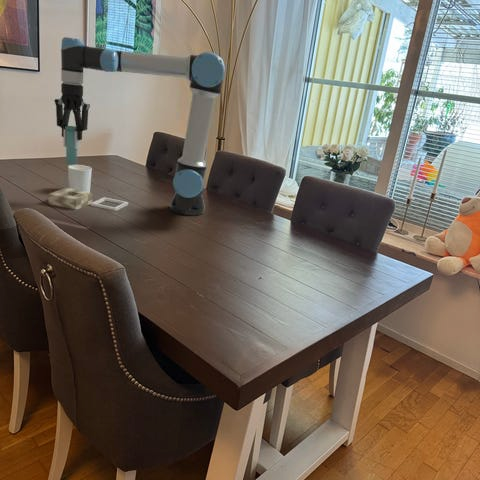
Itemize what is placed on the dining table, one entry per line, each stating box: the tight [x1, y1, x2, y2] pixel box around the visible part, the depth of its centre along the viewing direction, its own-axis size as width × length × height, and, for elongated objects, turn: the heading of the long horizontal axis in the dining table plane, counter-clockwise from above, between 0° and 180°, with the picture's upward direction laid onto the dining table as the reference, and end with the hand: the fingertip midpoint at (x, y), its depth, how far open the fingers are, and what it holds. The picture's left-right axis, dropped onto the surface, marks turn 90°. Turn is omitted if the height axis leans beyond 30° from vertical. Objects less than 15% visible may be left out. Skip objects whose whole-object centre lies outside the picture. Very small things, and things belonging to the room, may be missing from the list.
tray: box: [90, 196, 129, 212], centre depth 185 cm, size 11×11×2 cm
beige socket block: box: [47, 187, 94, 211], centre depth 179 cm, size 12×12×5 cm
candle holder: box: [67, 164, 93, 193], centre depth 194 cm, size 10×10×12 cm
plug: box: [65, 125, 78, 165], centre depth 172 cm, size 5×5×14 cm
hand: (71, 147), depth 172 cm, fingers closed on plug, 4 cm apart
